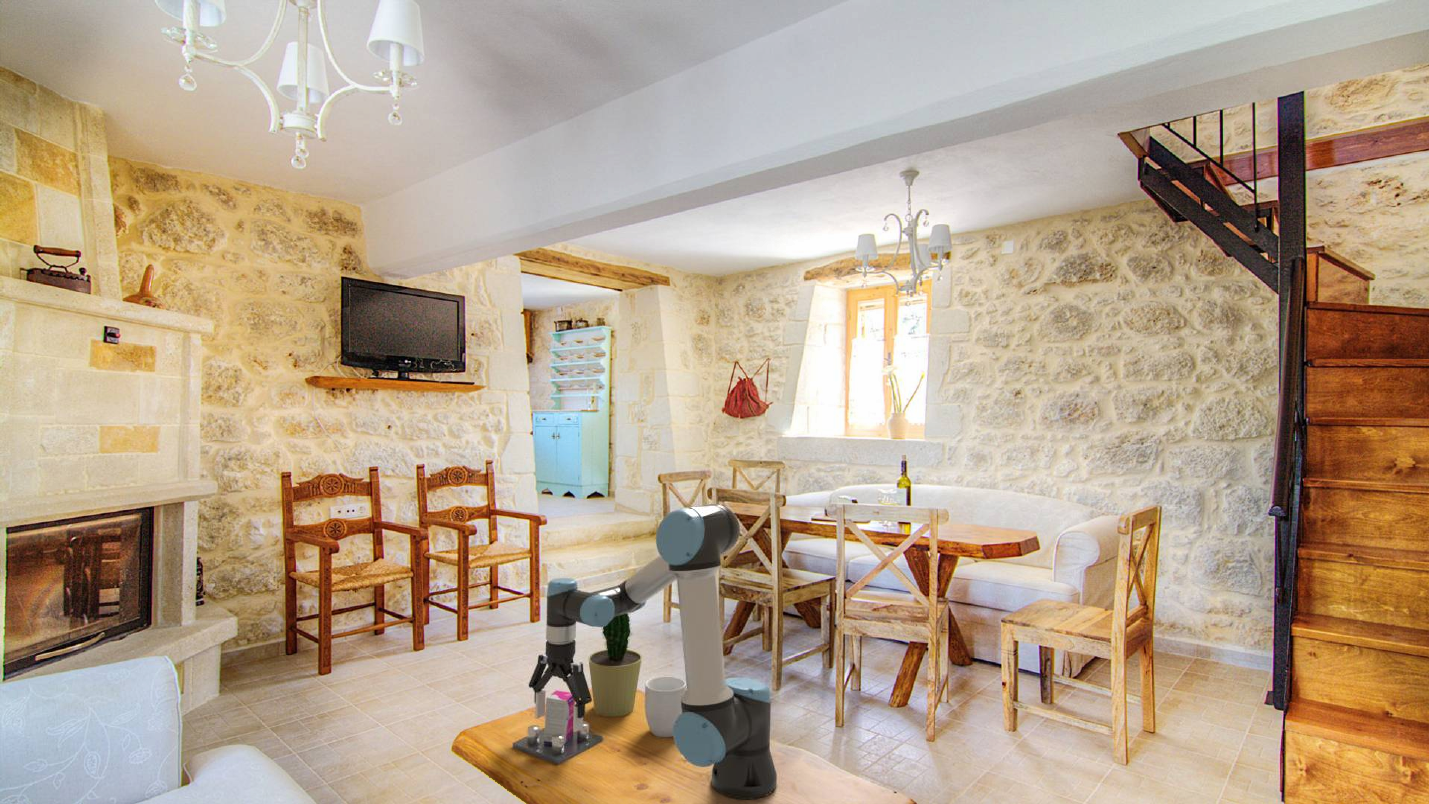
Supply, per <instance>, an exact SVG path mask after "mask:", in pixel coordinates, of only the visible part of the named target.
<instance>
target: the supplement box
mask: <svg viewBox="0 0 1429 804" xmlns="http://www.w3.org/2000/svg"><path fill="white" fill-rule="evenodd" d="M575 704H576V702H575V700H574V698H573V696H572V694H571V692H569V691H562V690H555V691H554V692H552V693H551V694H549V695H548V696H547V697H545V715H544V716H545V717H544V728H545V733H544V743H545V744H552V736H554V735H556V734H562V735H564V736H565V737H564V745H565V744H566V743H567V742H568V741H569V740H570V739H571V738H572V737H573V716H574V705H575Z"/></svg>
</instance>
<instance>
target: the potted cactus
mask: <svg viewBox="0 0 1429 804" xmlns="http://www.w3.org/2000/svg"><path fill="white" fill-rule="evenodd" d="M632 613H633V612H631V613H626V614H623V615H620V616H616V617H613V618H612V620H611V621H610V622H609V623H608V625H606V626H604V627H602V628H601V632H600V633H601V634H600V635H602V639H604V642H603V644H604V648H605V649H602V650H598V651H595V652H593V653H591V654H590V655H588V658H587V661H588V666H589V675H590V683H591V692H592V701H593V702H592V703H593V708H594V709H593V710H594V713H596V714H598V715H600V716H602V717H608V718H610V717H611V718H615V717H617V718H618V717H623V716H627V715H628V714H631V713H632V712H633V711H634V709H635V702H636V697H637V689H638V683H639V676H640V670H641V666H642V658H643V657H642V654H641V653H639V652H638V651H635V650H630V649H629V648H628V647H629V641H630V637H632V635H634V634H633V632H632V631H631V630H633V628H631V623H630V622H631V621H633V620H632V619H631V618H630V616H629V615H630V614H632Z"/></svg>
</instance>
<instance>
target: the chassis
mask: <svg viewBox="0 0 1429 804" xmlns="http://www.w3.org/2000/svg"><path fill="white" fill-rule="evenodd" d="M526 732H527V735H526V736H525V737H522V738H520V739H519V740H517V741H513V742H512V748H514V749H516V750H518V751H521V752H524V753H525V754H526V753H527V754H529V755H531V756H534V757H536V758H539V759H541V760H544V761H547V762H549V763H552V764H554V765H557V766H558V765H560V764H562V763H564V762H566V761H568V760H569V759H572V758H573V757H575V756H577V755H579V754H581V753H583V752H584V751H586V750H588V749H590V748H591V747H593V746H595V745H597V744H600V743H601V742H602V741H603V739H604V737H603V736H602V735H599V734H596V733H593V732H590V723H589V722H587V721H583V729H581V730H579V731H577V732H573V737H572V738H571V739H570V740H569V741H568V742H567V743H566V744H565V745H564V737H565V736H564V735H562V734H556V735H554V736H552V744H545V743H544V733H545V727H544V728H541V727H540V725H537V724H533V725H532V724H531V725H530V726H528V727H527V731H526Z"/></svg>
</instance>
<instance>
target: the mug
mask: <svg viewBox="0 0 1429 804" xmlns="http://www.w3.org/2000/svg"><path fill="white" fill-rule="evenodd" d="M644 685H645V687H644V688H645V689H644V690H645V691H644V709H645V710H644V713H645V718H646V722H647V725H648V728H649V730H650V731H651V733H652V734H653V735H654V736H656V737H658V738H673V725H674V722H675V721H676V720H677V718H678V716H679V715H680V714H682V707H681V696H682V695H683V694H684V692H685V691H686V690H687V684H686V680H684V679H682V678H680V677H675V676H669V675H667V676H665V675H664V676H655V677H652V678H650V679H648V680H647V681H645V684H644Z"/></svg>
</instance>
